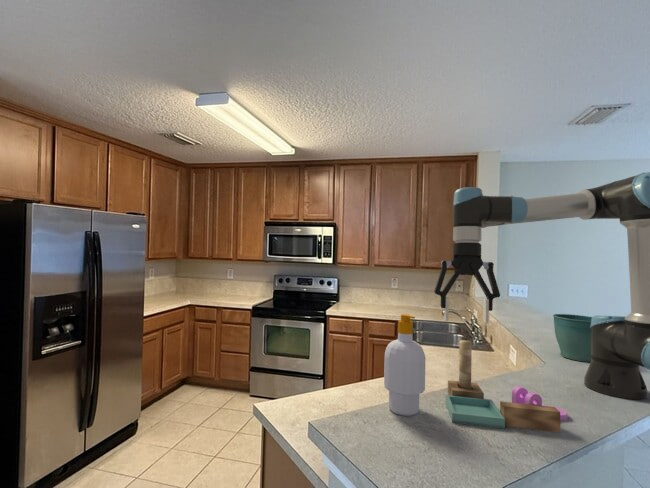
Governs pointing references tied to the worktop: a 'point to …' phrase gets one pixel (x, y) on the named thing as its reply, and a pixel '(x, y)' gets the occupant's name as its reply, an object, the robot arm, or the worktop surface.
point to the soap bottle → (404, 370)
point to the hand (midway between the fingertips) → (465, 321)
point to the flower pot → (573, 336)
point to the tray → (474, 411)
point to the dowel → (465, 364)
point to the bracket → (532, 399)
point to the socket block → (464, 390)
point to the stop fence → (530, 416)
